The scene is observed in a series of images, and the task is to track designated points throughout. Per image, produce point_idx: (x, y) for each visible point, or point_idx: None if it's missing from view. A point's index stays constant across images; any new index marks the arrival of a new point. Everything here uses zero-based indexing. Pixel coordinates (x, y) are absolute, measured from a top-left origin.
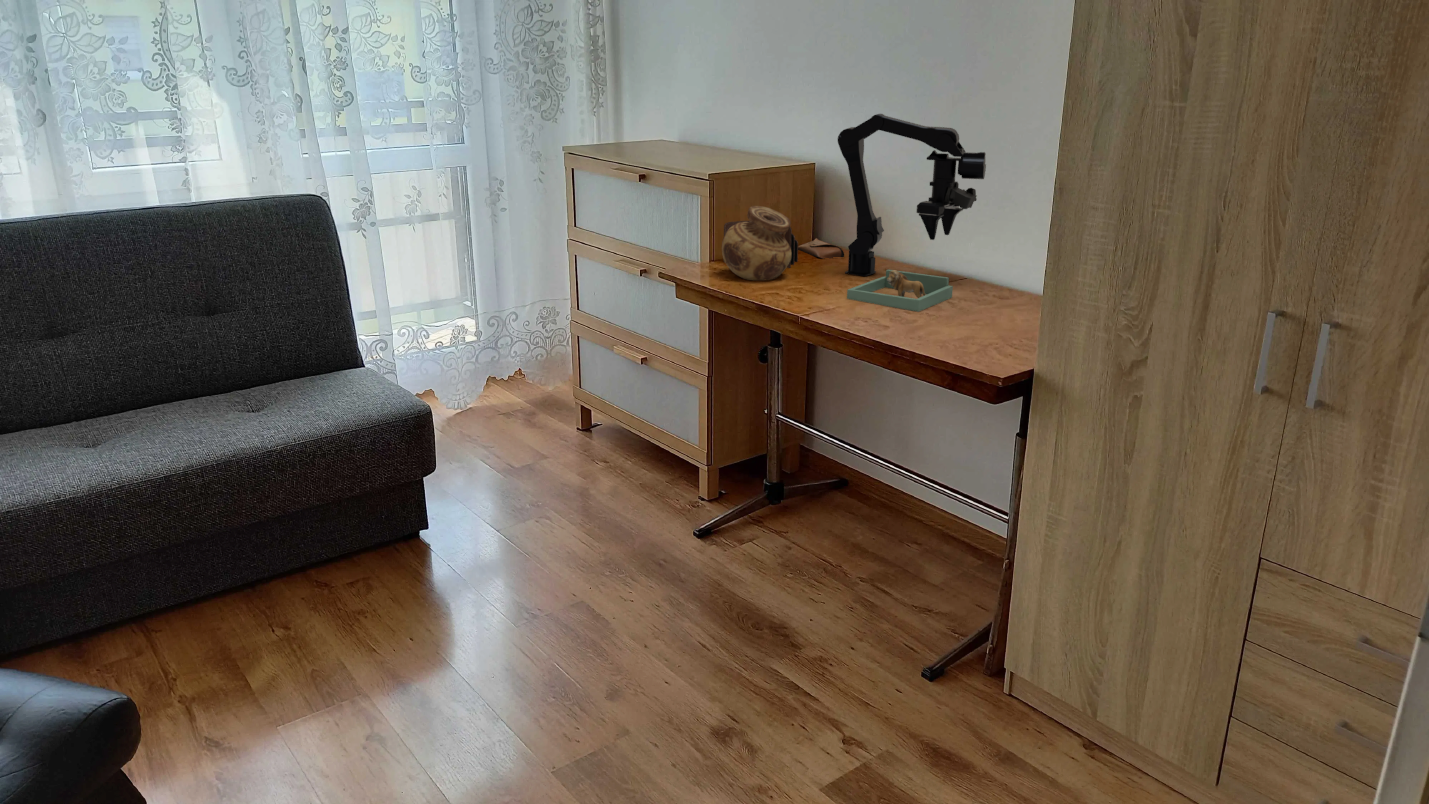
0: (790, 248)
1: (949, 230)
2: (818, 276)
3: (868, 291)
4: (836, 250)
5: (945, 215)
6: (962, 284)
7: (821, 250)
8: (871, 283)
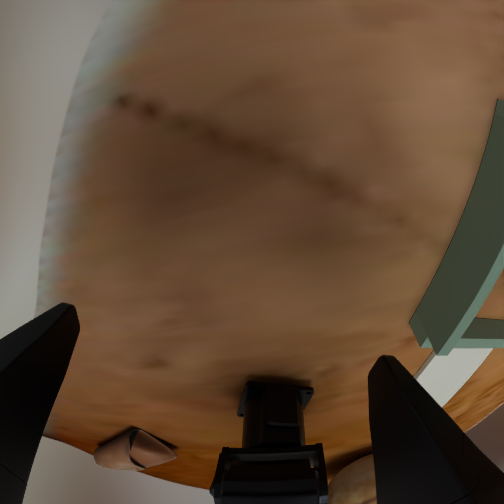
0: (370, 495)
1: (51, 328)
2: (310, 434)
3: (493, 325)
4: (138, 450)
5: (4, 470)
6: (252, 74)
7: (155, 461)
8: (493, 338)
